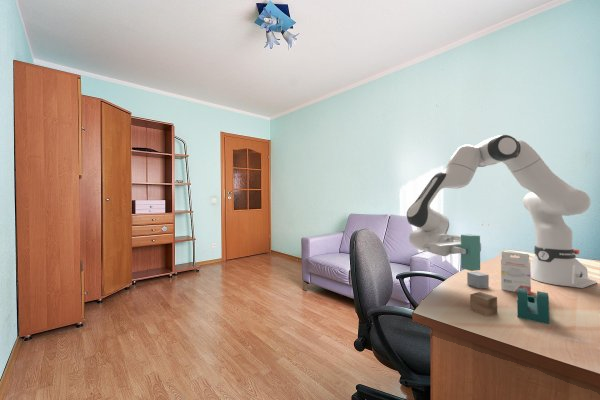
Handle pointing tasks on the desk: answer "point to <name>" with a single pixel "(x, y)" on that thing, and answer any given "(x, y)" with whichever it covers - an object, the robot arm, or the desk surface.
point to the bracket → (533, 306)
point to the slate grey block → (478, 279)
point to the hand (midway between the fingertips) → (472, 251)
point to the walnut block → (483, 303)
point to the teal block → (470, 252)
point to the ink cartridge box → (515, 272)
